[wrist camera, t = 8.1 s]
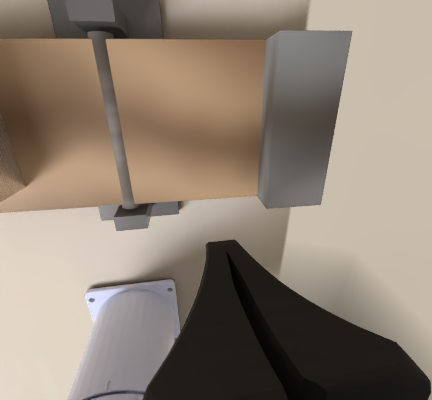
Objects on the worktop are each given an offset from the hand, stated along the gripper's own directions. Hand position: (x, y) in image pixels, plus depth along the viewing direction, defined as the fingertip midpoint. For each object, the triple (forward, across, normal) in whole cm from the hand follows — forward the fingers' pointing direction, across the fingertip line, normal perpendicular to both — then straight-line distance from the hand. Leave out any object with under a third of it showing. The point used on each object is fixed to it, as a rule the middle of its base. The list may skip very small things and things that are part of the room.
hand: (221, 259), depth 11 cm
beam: (+6, +5, -5) cm, 10 cm away
